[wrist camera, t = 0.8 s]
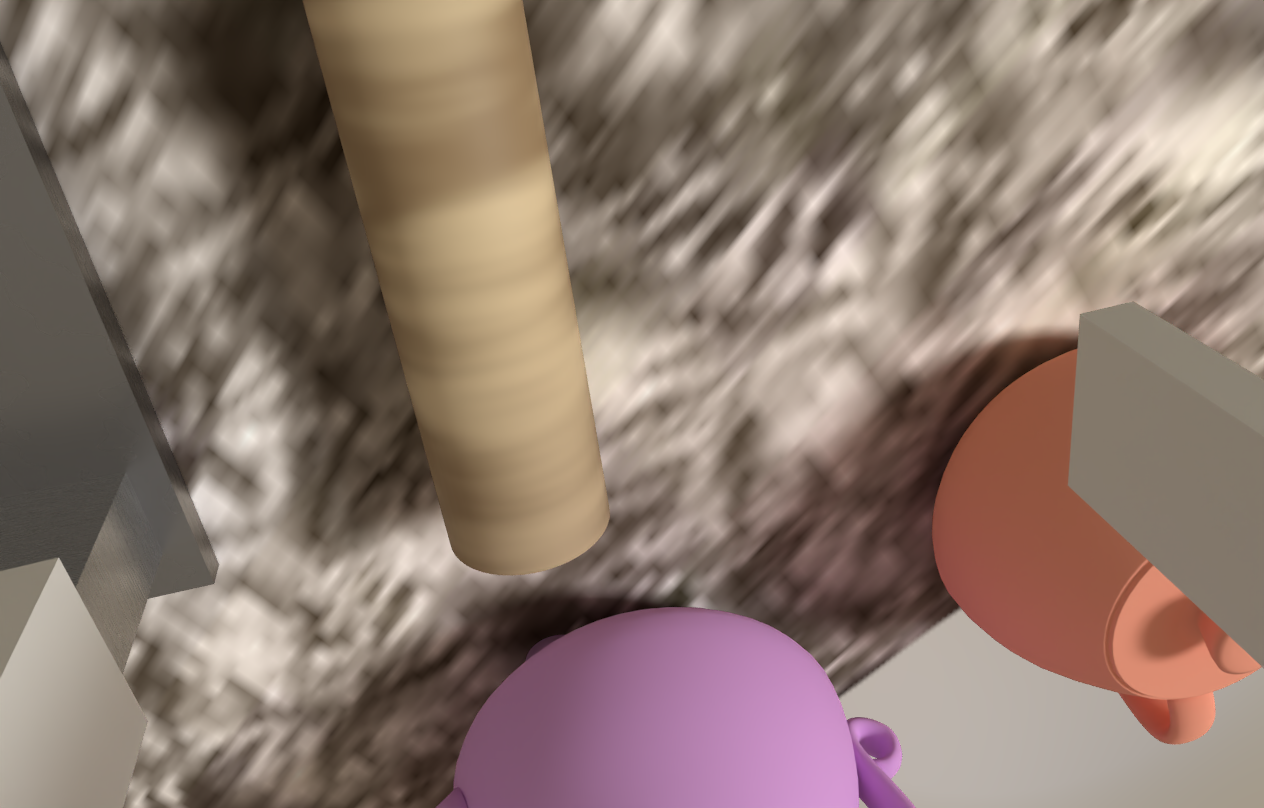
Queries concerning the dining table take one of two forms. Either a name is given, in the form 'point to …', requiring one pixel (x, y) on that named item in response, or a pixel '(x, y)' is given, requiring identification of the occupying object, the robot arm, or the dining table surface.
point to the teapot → (673, 723)
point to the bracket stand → (79, 412)
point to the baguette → (470, 267)
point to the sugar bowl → (1070, 567)
